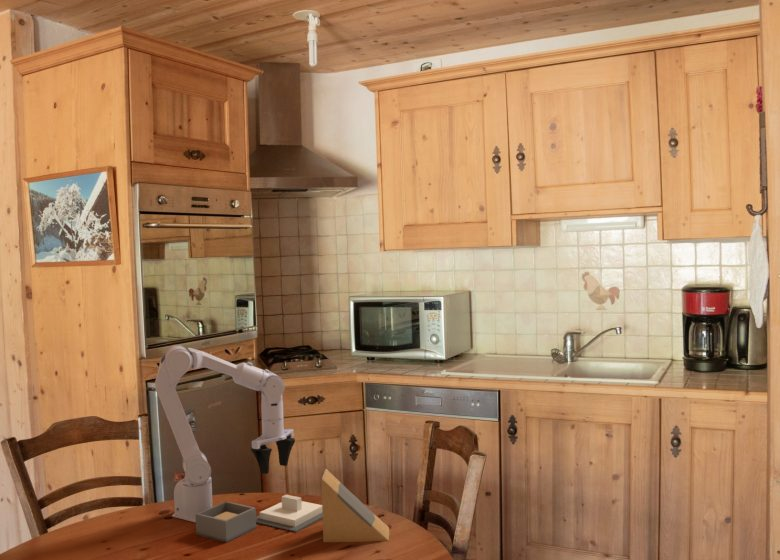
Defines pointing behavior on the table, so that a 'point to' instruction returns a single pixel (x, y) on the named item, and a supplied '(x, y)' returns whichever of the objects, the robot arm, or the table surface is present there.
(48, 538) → the table surface
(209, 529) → the storage box
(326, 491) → the sandwich container
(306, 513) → the lid
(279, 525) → the mat
